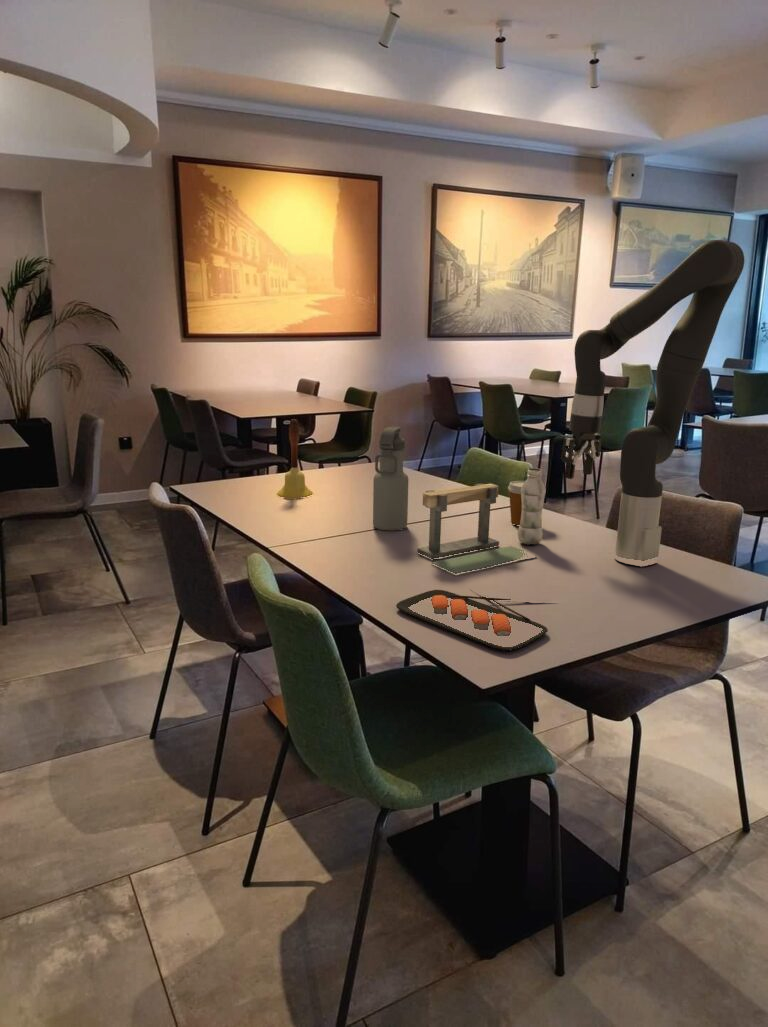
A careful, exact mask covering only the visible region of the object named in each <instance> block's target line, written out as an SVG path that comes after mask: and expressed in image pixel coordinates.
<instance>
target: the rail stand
mask: <svg viewBox="0 0 768 1027" xmlns="http://www.w3.org/2000/svg"><path fill="white" fill-rule="evenodd" d="M478 485H485V483H482V482H481V483H475V484H474V486H478ZM428 492H435V490H434V489H432V490H431V489H430V490H425V493H428ZM496 494H497V488H496V487H490V488H488V492H487V499H483V500H478V501H479V502H478V503H479V504H478V524H477V536H475V537H471V538H464V539H460V540H455V541H449V542H444V543H441V534H442V513H444V512H447V511H448V505H447V495H446V494H441V495H438V502H437V507H432V508H429V507H426V506H424V507H425V508H428V509H429V527H428V528H429V531H428V534H429V535H428V546H424V547H418V548H417V552H418V553H420V554H422V555H425V556H427V557H429V558H431V559H434V558H439V557H445V556H449V555H454V554H459V553H464V552H470V551H474V550H480V549H486V548H490V547H494V546H498V545H499V546H500V541H499V540H497V539H494V538H491V537H490V519H491V518H490V516H491V505H493V504H497V497H496ZM486 550H487V549H486ZM417 552H416V553H417Z"/></svg>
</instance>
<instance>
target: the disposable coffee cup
mask: <svg viewBox="0 0 768 1027" xmlns="http://www.w3.org/2000/svg"><path fill="white" fill-rule="evenodd" d="M525 481H526V480H515V481H510V482H509V485H508V486H507V489H508V493H509V494H508V495H509V507H510V509H509V510H510V524H511V523H512V524H515V525H520V521H521V514H522V498H521V488H522V485H523V484H524V482H525ZM512 524H511V525H512Z"/></svg>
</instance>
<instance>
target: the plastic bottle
mask: <svg viewBox="0 0 768 1027" xmlns="http://www.w3.org/2000/svg"><path fill="white" fill-rule="evenodd" d="M542 470H543V469H541V468H536V467H532V468H531V467H530V468H527V474H526V477H527V478H526V480H524V481H525V482H524V484H523V485H522V488H521V498H522V514H521V521H520V526H519V527H518V531H517V539H518V541H519V542H520V543H522V544H525V545H530V544H534V545H538V543H539V544H541V541H542V539H543V527H542V523H543V522H542V519H543V518H542V515H543V506H544V503H545V502H544V501H545V498H546V491H547V490H546V486H545V484H544V482H543V481H542V476H543V474H542V473H543V471H542Z"/></svg>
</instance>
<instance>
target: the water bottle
mask: <svg viewBox="0 0 768 1027" xmlns="http://www.w3.org/2000/svg"><path fill="white" fill-rule="evenodd" d="M400 433H401V427H399V426H388V427H385V428H383V430H382V431H381V434H380V438H379V439H378V442H379V448H378V451H379V454H377V455H376V456H375V459H374V460H375V462H374V469H375V472H376V473H375V474H374V475H373V482H372V484H373V485H372V486H373V492H372V496H373V498H372V499H373V500H372V525H373V527H374V528H375V529H376V530H377V529H378V530H379V529H381V530H380V531H384V530H398V531H402V530H404V529H406V528H407V527H408V515H409V514H408V512H409V511H408V509H409V476H408V474H407V473H406V472H404V451H405V439H404V438H403V437H400ZM401 529H402V530H401Z"/></svg>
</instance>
